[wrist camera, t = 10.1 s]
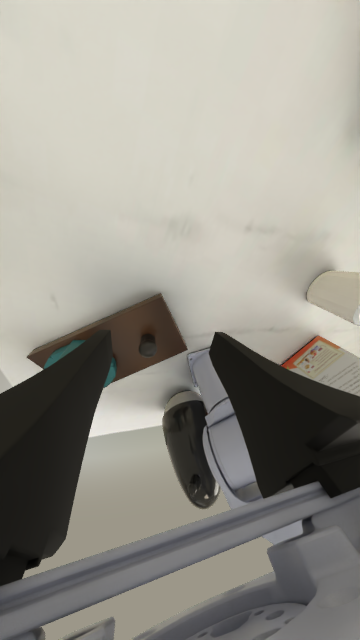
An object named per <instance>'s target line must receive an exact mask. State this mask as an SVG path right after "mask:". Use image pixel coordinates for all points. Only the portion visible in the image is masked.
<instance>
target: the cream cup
mask: <svg viewBox="0 0 360 640" xmlns="http://www.w3.org/2000/svg"><path fill="white" fill-rule="evenodd" d="M307 300H308V302H310V303H312V304H314V305H316V306H318V307H320V308H322V309H324V310H326V311H328V312H331V313H333V314H335V315H337V316H339V317H341V318H343V319H345V320H347V321H349V322H351V323H353V324H355V325H357V326H360V273H357V272H344V271H327V272H325V273H323V274H321V275H320V276H318V277H317V278H316V279H315V280H314V281H313V283H312V284H311V285H310V287H309V289H308V291H307Z"/></svg>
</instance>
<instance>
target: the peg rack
mask: <svg viewBox="0 0 360 640" xmlns="http://www.w3.org/2000/svg"><path fill="white" fill-rule="evenodd" d="M99 330H111V340H112V350H113V358H114V359H115V361H116V366H117V371H116V376H115V378H114V379H113V380H112V382H111V383H113V382H115V381H117V380H119V379H122V378H124V377H126V376H129V375H131V374H133V373H136V372H138V371H140V370H143V369H145V368H147V367H149V366H152V365H154V364H156V363H159V362H161V361H163V360H166V359H168V358H170V357H173V356H175V355H177V354H179V353H182V352H184V351H186V350H188V349H187V346H186V344H185V342H184V340H183V338H182V335H181V333H180V331H179V329H178V327H177V325H176V323H175V321H174V319H173V317H172V315H171V313H170V311H169V308H168V306H167V304H166V302H165V300H164V298H163V296H162V294H161V293H160V294H158V295H156V296H154V297H151V298H149V299H147V300H145V301H142V302H140V303H138V304H136V305H133V306H131V307H129V308H127V309H124V310H122V311H120V312H118V313H115V314H113V315H111V316H109V317H106V318H104V319H102V320H99V321H97V322H95V323H93V324H90V325H88V326H86V327H84V328H81V329H79V330H77V331H75V332H72V333H70V334H68V335H66V336H63V337H61V338H59V339H57V340H54V341H52V342H50V343H48V344H45V345H43V346H41V347H39V348H36V349H34V350H33V351H32V352H31V353H30V354H29V355H28V356H27V358H28V359H30V360H31V361H33V362H34V363H36V364H37V365H38V366H40V367H41V368H43V369H44V366H45V364H46V362H47V360H48V358H49V357H50V356H51V354H52V353H53V352H55V350H57V349H59V348H62V347H64V346H66V345H69V344H70V343H71V342H72V341H73V340H87V339H88V338H90V337H91V336H92V335H94V334H95V333H96V332H97V331H99Z"/></svg>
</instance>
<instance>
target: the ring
mask: <svg viewBox="0 0 360 640" xmlns="http://www.w3.org/2000/svg"><path fill="white" fill-rule="evenodd" d="M85 341H86V340H73V341H72V342H71V343H70V344H69V345H66V346H64V347H62V348H59V349H57V350H55V352H53V353H52V354H51V356H50V357H49V358H48V360H47V362H46V364H45V366H44V369H46V368H47V367H49V366H50V365H52V364H54V363H55V362H57V361H58V360H59V359H61V358H62V357H64V356H65V355H67V354H68V353H70V352H71V351H73V350H74V349H75V348H77V347H78V346H79V345H81V344H82V343H83V342H85ZM116 371H117V366H116V361H115V359H114V358H113V357H112V362H111V366H110V370H109V373H108V376H107V379H106V382H105V384H104V387H103V388H105V387H107V386H108V385H109V384H110V383H111V382H112V380H113V379H114V378H115V376H116Z"/></svg>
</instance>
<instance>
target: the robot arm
mask: <svg viewBox="0 0 360 640" xmlns="http://www.w3.org/2000/svg"><path fill="white" fill-rule="evenodd" d="M112 357H113V350H112V340H111V330H99V331H97V332H96V333H95V334H94V335H92V336H91V337H90V338H88V339H87V340H86V341H85V342H83V343H82V344H81V345H79V346H78V347H77V348H75V349H74V350H73V351H71V352H70V353H68V354H67V355H65V356H64V357H62V358H61V359H59V360H58V361H57V362H55V363H54V364H52V365H50V366H49V367H47V368H46V369H44V370H42V371H41V372H39V373H37V374H36V375H34V376H32V377H31V378H29V379H27V380H25V381H24V382H22V383H20V384H18V385H16V386H14V387H12V388H10V389H9V390H7V391H5V392H3V393H1V394H0V640H45V632H44V630H43V629H42V627H40V626H43V625H45V624H48V623H50V622H53V621H55V620H58V619H60V618H63V617H65V616H68V615H70V614H72V613H75V612H77V611H80V610H82V609H85V608H87V607H90V606H92V605H94V604H97V603H99V602H102V601H104V600H106V599H109V598H112V597H114V596H116V595H119V594H121V593H124V592H126V591H129V590H131V589H134V588H136V587H138V586H141V585H143V584H146V583H148V582H151V581H153V580H155V579H158V578H160V577H163V576H165V575H168V574H170V573H173V572H175V571H178V570H180V569H182V568H185V567H187V566H190V565H192V564H195V563H197V562H200V561H202V560H205V559H207V558H209V557H212V556H214V555H217V554H219V553H221V552H224V551H227V550H229V549H231V548H234V547H236V546H239V545H241V544H244V543H246V542H248V541H251V540H253V539H256V538H258V537H261V536H262V537H263V538H265V539H267V540H268V541H270V542H271V543H272V544H274V545H273V546H271V547H270V548H268V549H267V554H268V556H269V559H270V562H271V564H272V567H273V569H274V571H273V572H271V573H269V574H266V575H264V576H261V577H259V578H257V579H254V580H252V581H250V582H247V583H245V584H243V585H240V586H238V587H235V588H233V589H231V590H229V591H226V592H224V593H221V594H219V595H217V596H215V597H212V598H210V599H208V600H206V601H203V602H201V603H199V604H197V605H195V606H193V607H191V608H189V609H187V610H185V611H182V612H180V613H178V614H176V615H174V616H173V617H171V618H169V619H167V620H165V621H163V622H161V623H159V624H157V625H156V626H154V627H152V628H150V629H148V630H146V631H145V632H143V633H141V634H139V635H137V636H135V637H134V638H132V639H130V640H360V396H357V395H354V394H351V393H348V392H345V391H342V390H339V389H336V388H333V387H330V386H327V385H325V384H322V383H319V382H317V381H314V380H312V379H309V378H307V377H304V376H302V375H300V374H297V373H295V372H293V371H290V370H288V369H286V368H284V367H282V366H280V365H278V364H276V363H274V362H272V361H270V360H268V359H266V358H265V357H263V356H261V355H259V354H258V353H256V352H254V351H253V350H251V349H249V348H248V347H246V346H245V345H243V344H241V343H240V342H238V341H237V340H235V339H234V338H232V337H230V336H229V335H227V334H225V333H223V332H215V335H214V338H213V341H212V344H211V347H210V348H209V349H205V350H202V351H198V352H195V353H191V354H189V355H188V356H187V357H188V362H189V366H190V370H191V375H192V379H193V383H194V387H199V390H200V393H201V395H202V398H203V401H204V404H205V407H206V410H207V413H208V415H207V416H205V419H206V422H207V425H206V426H205V427H204V430H203V447H204V451H205V455H206V458H207V461H208V464H209V467H210V469H211V472H212V474H213V476H214V478H215V480H216V482H217V483H218V485H219V486H220V487H221V489H222V491H223V493H224V495H225V497H226V499H227V501H228V504H229V506H230V508H231V510H229V511H226V512H223V513H220V514H217V515H214V516H211V517H208V518H205V519H202V520H199V521H196V522H193V523H190V524H187V525H184V526H181V527H178V528H175V529H172V530H169V531H165V532H162V533H159V534H156V535H153V536H150V537H147V538H144V539H141V540H139V541H135V542H132V543H129V544H126V545H123V546H120V547H117V548H114V549H111V550H108V551H105V552H102V553H99V554H96V555H93V556H90V557H87V558H84V559H81V560H78V561H75V562H72V563H69V564H66V565H63V566H60V567H57V568H54V569H51V570H48V571H45V572H42V573H39V574H36V575H33V576H30V577H27V578H24V579H22V577H23V574H24V572H25V570H28V569H31V568H34V567H37V566H39V564H40V562H41V560H42V559H45V558H48V557H51V556H53V555H54V554H55V553H56V551H57V550H58V549H59V547H60V546H61V545H62V543H63V542H64V540H65V539H66V535H67V530H68V525H69V520H70V515H71V511H72V506H73V501H74V496H75V492H76V487H77V483H78V478H79V474H80V470H81V465H82V461H83V457H84V453H85V448H86V444H87V440H88V436H89V432H90V428H91V424H92V420H93V417H94V413H95V410H96V407H97V404H98V401H99V398H100V395H101V393H102V390H103V387H104V384H105V382H106V379H107V376H108V373H109V370H110V366H111V362H112ZM190 358H191V359H190ZM114 628H115V620H114V618H113V617H110V618H107V619H105V620H102V621H100V622H97V623H94V624H92V625H89V626H86V627H84V628H82V629H79V630H77V631H75V632H73V633H71V634H68V635H66V636H64V637H63V638H61V639H59V640H113V639H114Z"/></svg>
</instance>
